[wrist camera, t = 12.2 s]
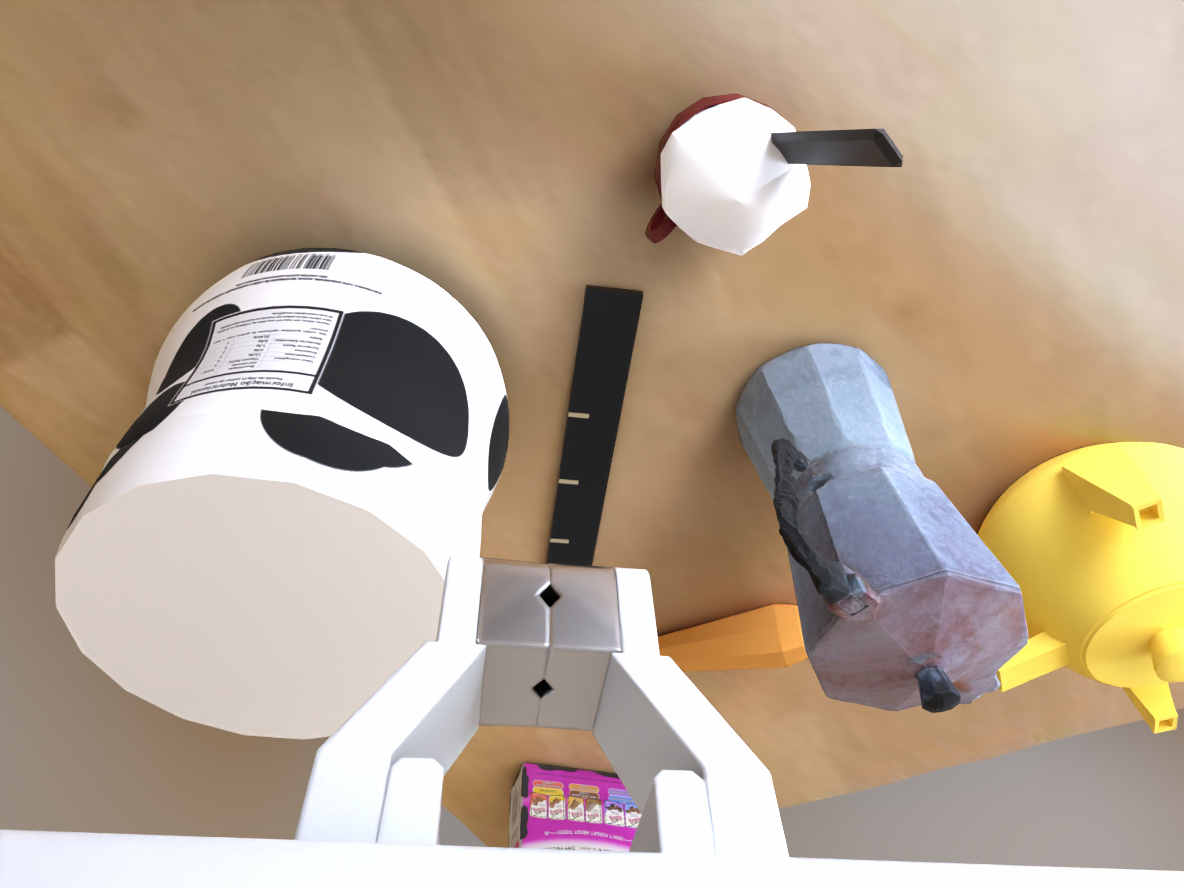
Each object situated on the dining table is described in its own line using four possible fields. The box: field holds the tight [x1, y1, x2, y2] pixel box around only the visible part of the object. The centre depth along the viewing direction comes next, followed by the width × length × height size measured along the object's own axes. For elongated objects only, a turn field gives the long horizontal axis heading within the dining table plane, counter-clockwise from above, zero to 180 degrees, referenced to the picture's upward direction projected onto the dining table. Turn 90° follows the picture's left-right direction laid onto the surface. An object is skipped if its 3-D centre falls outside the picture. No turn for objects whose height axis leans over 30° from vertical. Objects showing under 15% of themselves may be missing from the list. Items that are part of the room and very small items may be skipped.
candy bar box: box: [508, 763, 642, 852], centre depth 66 cm, size 11×5×16 cm, turn 73°
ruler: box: [546, 285, 643, 566], centre depth 51 cm, size 26×3×1 cm, turn 172°
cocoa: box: [645, 94, 903, 256], centre depth 34 cm, size 10×6×12 cm, turn 111°
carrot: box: [658, 604, 808, 672], centre depth 60 cm, size 20×4×4 cm, turn 109°
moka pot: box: [736, 343, 1028, 713], centre depth 41 cm, size 10×15×20 cm, turn 50°
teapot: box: [978, 442, 1184, 733], centre depth 50 cm, size 17×17×12 cm
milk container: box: [55, 248, 509, 739], centre depth 39 cm, size 17×17×18 cm
